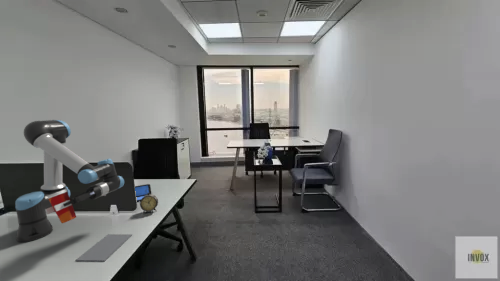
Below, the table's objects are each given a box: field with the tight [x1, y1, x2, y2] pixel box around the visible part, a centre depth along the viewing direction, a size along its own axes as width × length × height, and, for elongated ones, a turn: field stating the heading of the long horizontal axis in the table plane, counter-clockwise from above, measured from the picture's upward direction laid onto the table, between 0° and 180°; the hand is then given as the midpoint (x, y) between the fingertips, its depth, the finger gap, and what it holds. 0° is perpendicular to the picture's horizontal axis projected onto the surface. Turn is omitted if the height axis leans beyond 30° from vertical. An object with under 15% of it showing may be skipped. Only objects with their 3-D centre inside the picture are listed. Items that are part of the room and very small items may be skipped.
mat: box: [75, 233, 133, 262], centre depth 115 cm, size 14×22×1 cm, turn 177°
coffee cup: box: [47, 189, 77, 224], centre depth 111 cm, size 8×8×15 cm
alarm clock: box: [139, 189, 159, 213], centre depth 154 cm, size 11×5×16 cm, turn 98°
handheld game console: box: [134, 183, 152, 203], centre depth 179 cm, size 16×13×9 cm
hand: (50, 210), depth 107 cm, fingers closed on coffee cup, 7 cm apart
